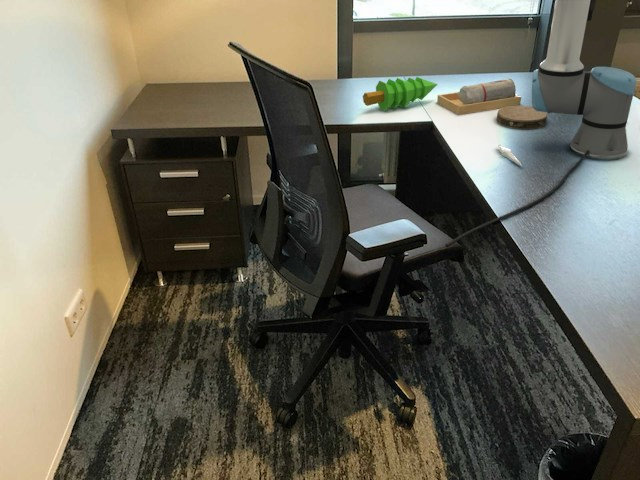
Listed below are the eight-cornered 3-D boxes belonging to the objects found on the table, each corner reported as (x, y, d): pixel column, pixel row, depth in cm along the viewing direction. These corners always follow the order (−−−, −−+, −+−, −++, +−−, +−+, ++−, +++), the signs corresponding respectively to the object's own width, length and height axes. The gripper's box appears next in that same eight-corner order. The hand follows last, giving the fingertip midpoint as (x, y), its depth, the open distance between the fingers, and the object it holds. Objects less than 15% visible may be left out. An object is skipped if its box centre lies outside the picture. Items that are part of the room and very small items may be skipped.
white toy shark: (494, 149, 168) (495, 143, 167) (502, 148, 168) (503, 143, 167) (516, 169, 155) (517, 162, 154) (525, 168, 155) (526, 161, 154)
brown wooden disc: (506, 111, 198) (507, 103, 196) (551, 118, 189) (553, 109, 188) (489, 124, 187) (490, 116, 185) (537, 132, 178) (538, 123, 177)
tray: (495, 94, 216) (496, 86, 214) (520, 104, 203) (521, 96, 202) (437, 103, 210) (437, 95, 208) (458, 115, 197) (459, 106, 195)
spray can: (518, 81, 198) (468, 88, 194) (515, 104, 203) (466, 111, 198) (505, 75, 205) (456, 82, 201) (502, 97, 210) (454, 104, 205)
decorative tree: (361, 77, 200) (434, 63, 208) (358, 102, 209) (427, 88, 217) (374, 96, 194) (449, 81, 202) (370, 121, 203) (441, 106, 211)
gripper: (623, -51, 171) (608, 22, 182) (568, -54, 192) (558, 11, 203) (603, -49, 169) (589, 24, 180) (550, -52, 190) (540, 13, 201)
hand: (572, 17), depth 192 cm, fingers open, 13 cm apart
